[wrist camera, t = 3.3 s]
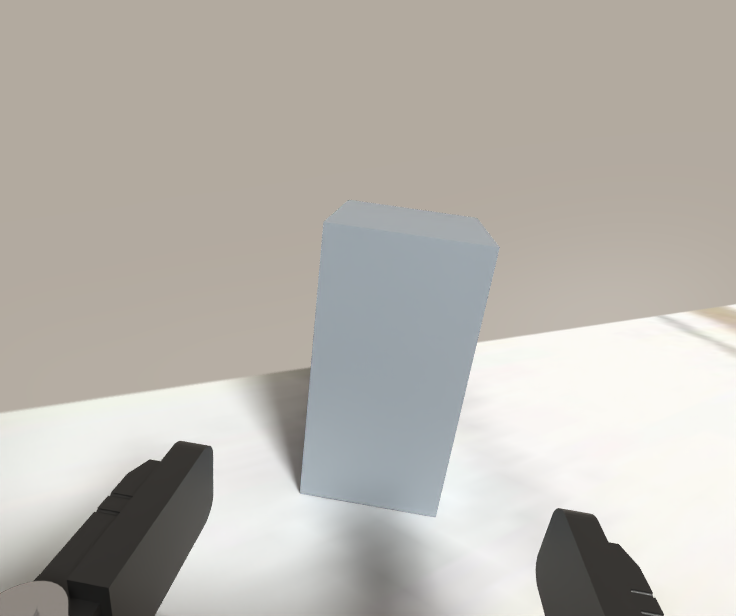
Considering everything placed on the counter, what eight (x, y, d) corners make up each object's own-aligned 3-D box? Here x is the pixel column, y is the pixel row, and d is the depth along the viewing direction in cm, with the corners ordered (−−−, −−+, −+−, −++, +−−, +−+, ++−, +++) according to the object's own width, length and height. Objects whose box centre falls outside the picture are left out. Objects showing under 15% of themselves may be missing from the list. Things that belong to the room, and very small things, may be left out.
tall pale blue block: (299, 493, 20) (323, 221, 15) (325, 414, 25) (348, 199, 21) (435, 517, 19) (499, 247, 15) (431, 432, 25) (477, 217, 20)
